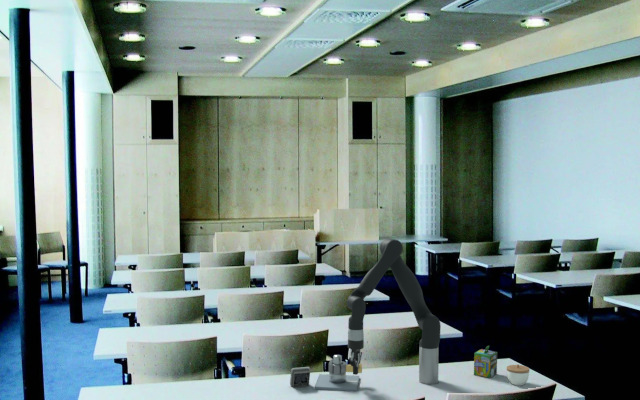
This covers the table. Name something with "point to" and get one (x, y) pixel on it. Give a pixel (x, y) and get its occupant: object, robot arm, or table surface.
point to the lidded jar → (517, 374)
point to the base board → (349, 385)
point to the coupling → (342, 368)
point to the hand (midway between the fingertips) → (355, 374)
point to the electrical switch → (300, 377)
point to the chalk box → (485, 363)
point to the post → (337, 377)
